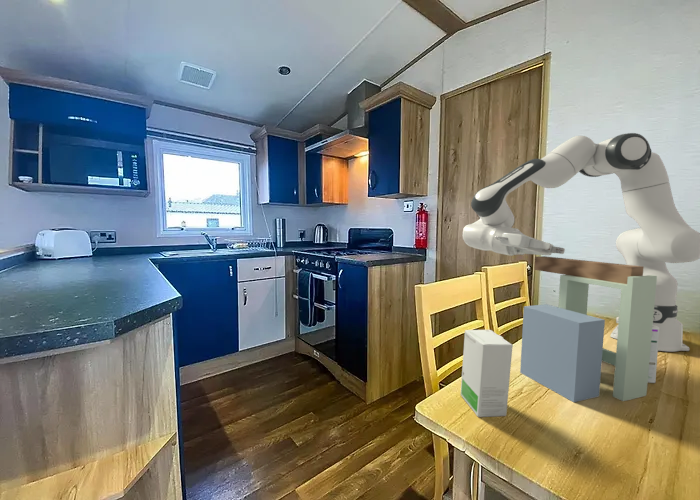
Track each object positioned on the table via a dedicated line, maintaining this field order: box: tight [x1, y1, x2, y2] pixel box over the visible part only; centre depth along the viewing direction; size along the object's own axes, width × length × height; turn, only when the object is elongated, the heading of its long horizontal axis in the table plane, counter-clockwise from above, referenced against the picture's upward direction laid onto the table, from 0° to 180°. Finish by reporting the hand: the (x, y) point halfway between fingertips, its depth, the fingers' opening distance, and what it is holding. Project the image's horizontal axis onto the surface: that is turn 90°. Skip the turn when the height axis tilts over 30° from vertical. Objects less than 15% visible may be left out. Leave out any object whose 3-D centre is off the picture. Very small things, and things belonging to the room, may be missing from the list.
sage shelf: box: [557, 274, 657, 402], centre depth 74 cm, size 16×8×28 cm, turn 17°
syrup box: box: [647, 325, 659, 384], centre depth 76 cm, size 6×6×14 cm
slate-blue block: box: [519, 303, 606, 403], centre depth 73 cm, size 14×8×18 cm, turn 17°
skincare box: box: [460, 329, 514, 418], centre depth 63 cm, size 8×7×16 cm
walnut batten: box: [533, 255, 643, 284], centre depth 78 cm, size 24×4×4 cm, turn 17°
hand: (557, 249), depth 84 cm, fingers open, 8 cm apart
